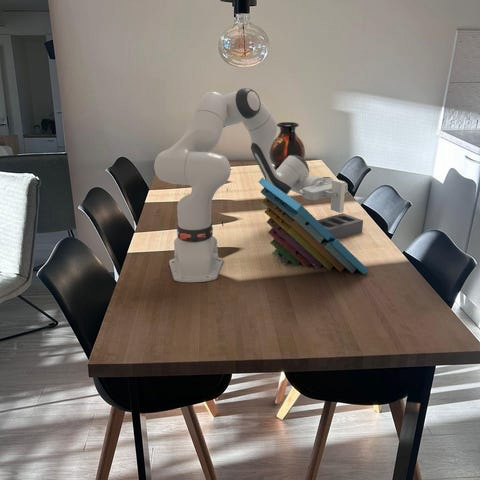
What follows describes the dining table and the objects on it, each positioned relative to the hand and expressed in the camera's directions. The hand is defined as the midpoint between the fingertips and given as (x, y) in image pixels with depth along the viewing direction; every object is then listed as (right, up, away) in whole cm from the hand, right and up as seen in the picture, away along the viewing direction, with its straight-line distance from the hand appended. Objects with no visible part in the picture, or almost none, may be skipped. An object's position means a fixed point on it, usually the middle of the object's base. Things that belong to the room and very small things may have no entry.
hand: (339, 195), depth 191 cm
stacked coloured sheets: (-14, -24, -17) cm, 33 cm away
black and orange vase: (-10, +24, +107) cm, 110 cm away
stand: (0, -15, +6) cm, 16 cm away
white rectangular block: (0, -6, +3) cm, 7 cm away
